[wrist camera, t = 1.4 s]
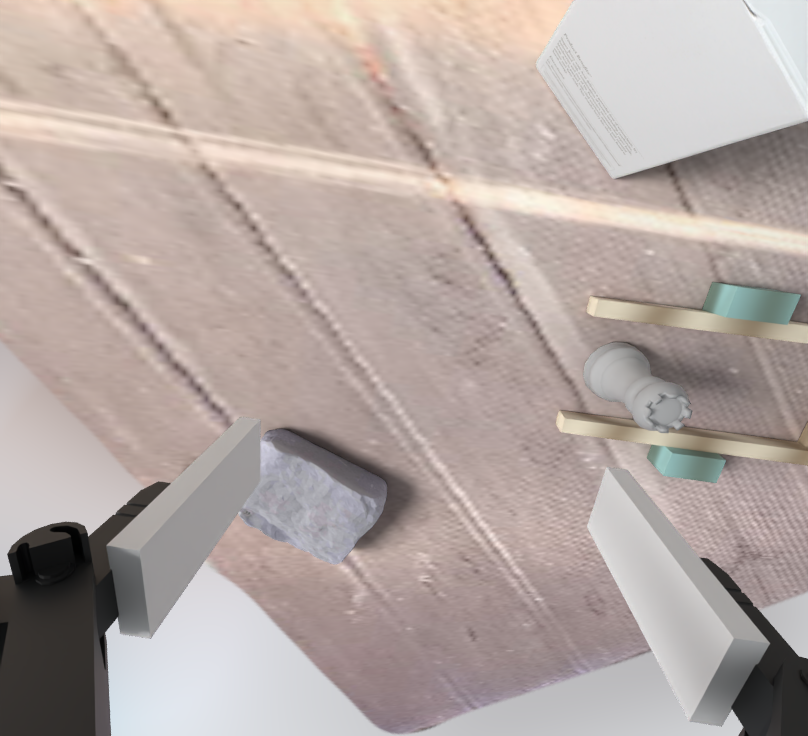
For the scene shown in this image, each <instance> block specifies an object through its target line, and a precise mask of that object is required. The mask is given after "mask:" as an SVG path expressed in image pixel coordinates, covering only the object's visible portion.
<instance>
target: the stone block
mask: <svg viewBox="0 0 808 736" xmlns="http://www.w3.org/2000/svg"><path fill="white" fill-rule="evenodd" d="M260 479H261V481H260V482H259V484H258V485H257V486H256V488H255V489H254V491H253V492H252V494H251V495H250V497H249V498H248V499H247V501H246V502H245V504H244V505H243V507H242V508H241V509H240V511H239V516H240V517H241V519H242V520H243V521H244V523H245V524H246V525H248V526H250V527H254V528H257V529H259V530H260V531H262V532H263V533H264V534H265V535H267V536H269V537H271V538H272V539H275V540H278V541H281V542H288V543H289V544H291V545H293V546H294V547H296V548H298V549H301V550H303V551H306V552H310V553H311V554H312V555H313V556H315V557H317V558H319V559H321V560H323V561H326V562H329V563H332V564H339V563H340V562H342V561H343V560H344V559H345V557H346V556H347V555H348V554H349V553H350V552H351V550H352V549H353V548H354V546H355V544H356V542H357V541H358V540H359V538H361V537H362V536H363V535H364V534H365V533H366V532H367V531H368V530H370V529H371V528H372V527H373V525H374V524H375V523H376V521H377V520H378V518H379V517H380V515H381V514H382V512H383V509H384V504H385V501H386V497H387V484H386V482H385V481H384V480H383V479H382V478H380V477H378V476H377V475H375V474H373V473H371V472H369V471H367V470H365V469H363V468H361V467H359V466H357V465H355V464H353V463H351V462H349V461H347V460H345V459H343V458H341V457H339V456H337V455H335V454H333V453H331V452H329V451H327V450H326V449H323V448H321V447H318V446H316V445H314V444H313V443H311V442H310V441H308V440H306V439H304V438H302V437H300V436H298V435H296V434H294V433H292V432H290V431H287V430H284V429H276V430H269V431H267V432H266V433H265V435H264V436H263V438H262V439H261V441H260Z"/></svg>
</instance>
